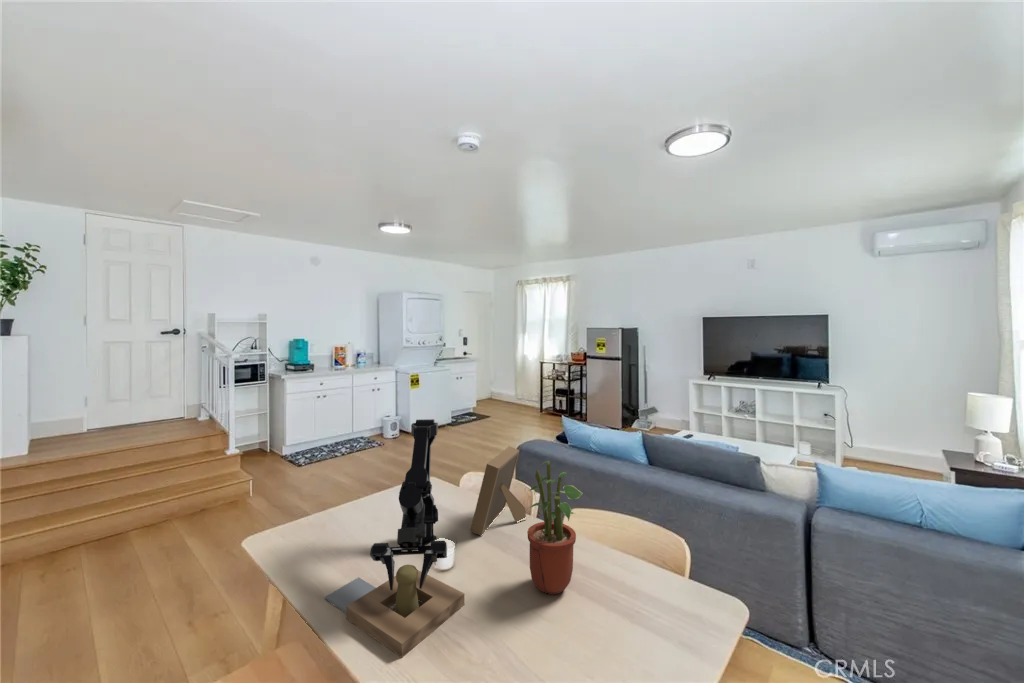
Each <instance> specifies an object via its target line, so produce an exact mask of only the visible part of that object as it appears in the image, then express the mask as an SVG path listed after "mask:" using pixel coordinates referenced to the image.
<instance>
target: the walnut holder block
mask: <svg viewBox="0 0 1024 683" xmlns="http://www.w3.org/2000/svg"><path fill="white" fill-rule="evenodd" d="M417 571H418V576H417V579H416V589H417V596H418V602H421V603H422V605H419V608H418V609H416V610H415V611H414V612H412V613H411V614H410V615H408V616H407V617H406V618H404V617H402V616H401V615H399V614H397V613H396V612H394V611H395V610H392V609H391V608H392V607H393V606H395V604H396V596H397V589H398V583H397V581H396V575H394V584H393V590H390V585H389V579H388V580H386V581H385V582H384V583H382V584H380V585H378V586H377V587H376V588H375V589H373V590H372V591H370V592H369V593H367V594H365V595H364V596H362V597H361V598H359V599H357V600H356V601H354V602H353V603H351V604H349V605H348V606H346V613H345V616H346V618H345V620H348V622H350V623H352V624H353V625H355V626H356V627H357V628H359V629H360V630H362V631H363V632H364V633H366V634H367V635H369V636H370V637H372V638H373V639H374V640H376V641H377V642H379V643H380V644H381V645H383V646H384V647H386V648H387V649H389V650H390V651H392V652H393V653H395V654H396V655H397V656H399V657H400V658H404V657H405V656H406V655H407V654H408V653H409V652H411V651H412V650H413V649H415V647H417V646H418V645H419V644H420V643H421V642H423V641H424V640H425V639H426V638H427V637H429V636H430V635H431V634H432V633H433V632H434V631H435V630H437V629H438V628H439V627H440V626H441V625H443V624H444V623H445V622H446V621H447V620H448V619H449V618H451V617H452V616H453V615H455V614H456V613H457V612H458V611H459V610H461V607H463V608H464V606H465V592H462V591H461V590H459V589H456V588H454V587H452V586H450V585H448V584H446V583H444V582H442V581H440V580H439V579H437V578H435V577H433V576H431V575H430V574H429V575H428V574H427V576H426V578H425V581H424V583H423V586H422V588H421V589H420V578H421V572H422V570H419V569H417Z"/></svg>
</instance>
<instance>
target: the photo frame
mask: <svg viewBox="0 0 1024 683" xmlns="http://www.w3.org/2000/svg"><path fill="white" fill-rule="evenodd" d="M519 454H520V449H519V448H515V447H513V446H509V445H508V447H506V448H505V449H504V450H502V451H501V452H500V453H499V454H498V455H496V456H495V457H494V458H492V459H491V460H490V461H489V462H487V463H486V466H485V470H484V474H483V478H482V481H481V486H480V490H479V492H478V493H479V494H478V498H477V502H476V505H475V508H474V509H475V510H474V514H473V518H472V522H471V526H470V532H471V533H473V534H475V535H477V534H479V535H482V534H483V533H484V532H485V530H486V529H487V528H488V527H489V525H490V524H491V523H492V522H493V520H494V519H495V518H496V517H497V516H498V515H499V513H500V512H501V511H502V510H503V508H504V507H505V508H506V504H507V507H508V508H509V511H510V513H511V516H512V518H513V519H514V522H515V523H516V522H517V521H519V520H521V519H523V518H525V517H526V518H527V515H526V514H527V513H526V507H525V506H524V505H523V504H522V503H521V501H520V500H518V498H517V497H516V496H515V495H514V494H513V493H512V491H510V488H511V486H512V482H513V477H514V475H515V474H514V473H515V470H516V466H517V462H518V458H519ZM499 516H500V515H499ZM499 516H498V517H499ZM493 523H494V522H493ZM489 528H490V527H489ZM489 528H488V529H489ZM488 529H487V530H488ZM485 533H486V532H485ZM485 533H484V534H485ZM484 534H483V535H484ZM479 535H478V536H479ZM483 535H482V536H483Z"/></svg>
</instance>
